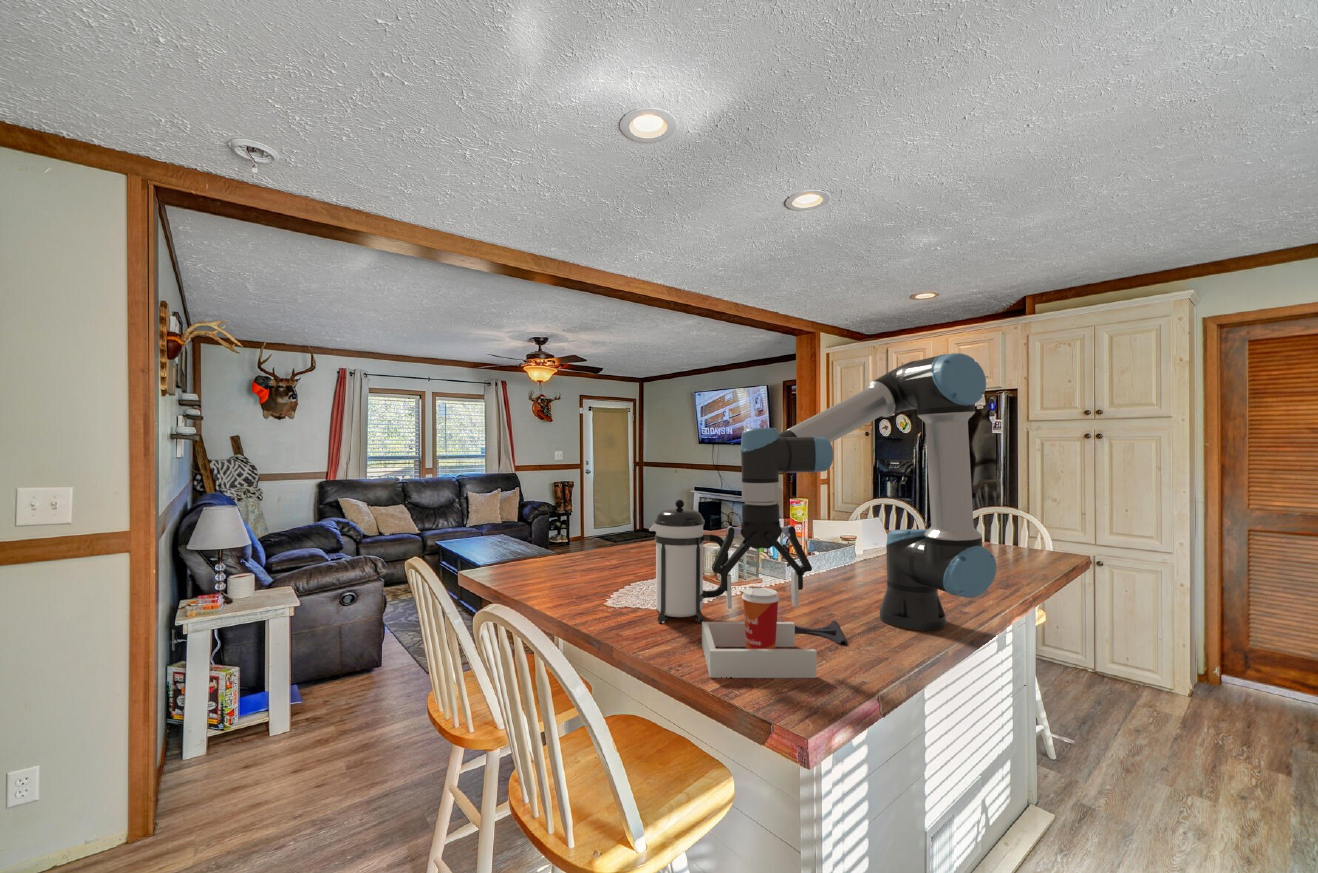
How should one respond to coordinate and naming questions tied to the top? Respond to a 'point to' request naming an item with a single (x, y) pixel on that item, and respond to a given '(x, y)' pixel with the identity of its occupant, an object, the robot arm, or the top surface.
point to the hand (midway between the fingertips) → (762, 606)
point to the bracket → (825, 632)
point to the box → (754, 653)
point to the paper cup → (760, 617)
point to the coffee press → (681, 563)
